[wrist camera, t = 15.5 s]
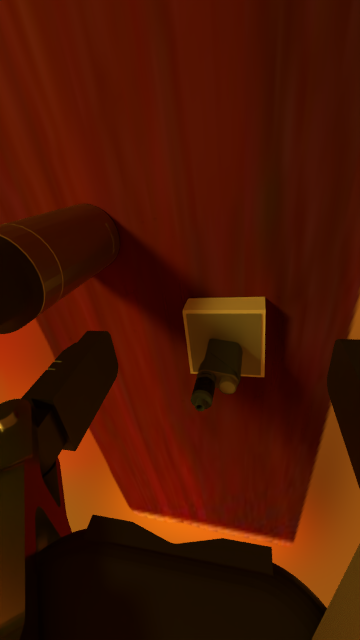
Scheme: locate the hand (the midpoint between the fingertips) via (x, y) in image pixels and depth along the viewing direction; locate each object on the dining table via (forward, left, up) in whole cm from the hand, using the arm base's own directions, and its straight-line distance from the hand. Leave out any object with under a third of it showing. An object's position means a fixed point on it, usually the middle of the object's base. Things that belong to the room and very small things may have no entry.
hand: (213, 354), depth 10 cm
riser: (-3, -17, -30) cm, 34 cm away
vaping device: (-3, -17, -26) cm, 31 cm away
